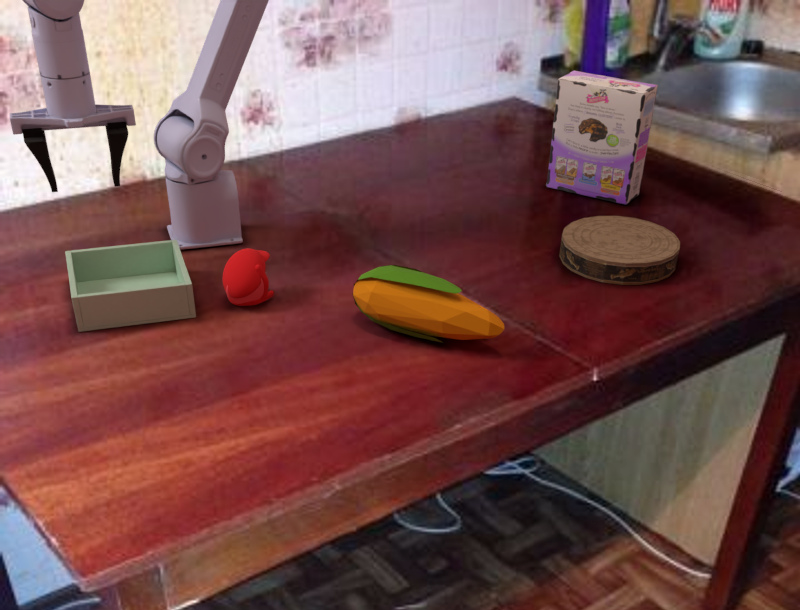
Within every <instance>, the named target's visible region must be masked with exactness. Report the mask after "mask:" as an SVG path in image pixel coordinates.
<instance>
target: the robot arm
mask: <svg viewBox="0 0 800 610" xmlns="http://www.w3.org/2000/svg"><path fill="white" fill-rule="evenodd" d="M269 1H270V0H219V2H218V6H217V8H216V11H215V13H214V15H213V19H212V21H211V24H210V27H209V29H208V32H207V35H206V37H205V39H204V42H203V45H202V48H201V50H200V53H199V55H198V58H197V60H196V63H195V66H194V69H193V71H192V75H191V77H190V79H189V82H188V85H187V87H186V89H185V91H183V92H182V93H181V94H179V96H177V97H176V98H175V99H173V100H172V103H171V104H170V107H169V110H168V111H167V113H166V114H165V115H164V116H162V118H160V120H159V121H158V122H157V123H156V126H155V128H154V130H153V143H154V147H155V149H156V151H157V153H158V154H159V155H160V156H161V157H163V158H164V163H165V164H164V165H165V166H164V178H165V185H166V186H165V187H166V193H167V200H168V208H169V213H170V214H169V216H170V221H171V223H170V224H168V225H166V229H167V232H168V235H169V238H170V239H169V240H177V242H178V245H179V248H180V251H182V250H190V249H199V248H208V247H209V248H210V247H219V246H228V245H237V244H242V243H243V242H244V241H243V240H244V239H243V236H242V235H243V234H242V224H241V223H242V222H241V213H240V212H241V211H240V201H239V192H238V185H237V179H236V175H235V173H234V171H233V170H232V169H222V168H223V166H224V164H225V160H226V141H227V138H228V136H229V133H230V127H229V124H228V117H227V115H226V111H227V110H226V109H227V107H228V105H229V102H230V100H231V97H232V94H233V92H234V90H235V87H236V84H237V82H238V79H239V78H240V74H241V72H242V69H243V67H244V64H245V62H246V59H247V56H248V54H249V52H250V49H251V47H252V44H253V41H254V39H255V37H256V34H257V31H258V29H259V26H260V24H261V21H262V18H263V16H264V14H265V11H266V8H267V6H268V3H269ZM22 2H23V3H24V4H25V5H27V12H28V18H29V22H30V28H31V37H32V41H33V46H34V51H35V57H36V61H37V67H38V71H39V76H40V82H41V86H42V91H43V97H44V102H45V106H46V107H44V108H38V109H31V110H27V111H20V112H10V113H9V122H10V126H11V130H12V135H22V136H23V142H24V144H25V146H26V147H27V148H28V150H29V151H30V153H31V154H32V155H33V156H34V158H35V160H36V161H37V162H38V165H39V166H40V167H41V169H42V171H43V173H44V175H45V177H46V179H47V182H48V184H49V187H50V189H51V192H52V193H58V192H59V190H58V185H57V183H58V182H57V178H56V174H55V171H54V168H53V165H52V161H51V158H50V152H49V147H48V142H47V137H46V136H47V135H46V132H45V131H57V130H69V129H84V128H95V127H97V128H98V127H105V132H106V138H107V142H108V143H107V144H108V149H109V156H110V169H111V177H112V182H113V186H114V187H121V177H120V176H121V168H122V167H121V166H122V160H123V155H124V151H125V148H126V144H127V142H128V138H129V130H128V127H135V126H137V123H136V115H135V109H134V106H133V104H96V101H95V94H94V89H93V83H92V77H91V71H90V65H89V59H88V52H87V48H86V41H85V36H84V31H83V27H82V21H81V15H80V12H81V11H82V9H83V7H84V4H85V0H22Z"/></svg>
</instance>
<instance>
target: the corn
mask: <svg viewBox="0 0 800 610" xmlns="http://www.w3.org/2000/svg"><path fill="white" fill-rule="evenodd" d="M462 291H463V289H462V288H460V287H459V286H457V285H456V284H454V283H453V282H450V281H449V280H447V279H444V278H441V277H439V276H435V275H432V274H430V273H426V272H423V271H421V270H419V269H417V268H413V267H408V266H404V265H398V264H389V265H381V266H378V267H375V268H373V269H370V270H369V271H366V272H364V273H362V274H360V276H359V277H358V279H357V280H356V281H355V282H354V283H353V292H352V297H353V301H354V305H355V306H356V307H357V309H359V311H360V313H362V314H363V315H364V316H365V317H367V318H368V319H369V320H370V321H371V322H373V323H376V324H378V325H380V326H382V327H384V328H387V329H388V330H390V331H394V332H397V333H400V334H405V335H408V336H411V337H415V338H418V339H424V340H428V341H431V342H438V343H443V344H444V342H443V341H442V340H440V339H438V338H445V339H453V340H459V341H468V340H470V341H471V340H485V339H495V338H496V337H498V336H500V335H501V334H503V332H504V331H505V323H504V322H503V321H502V319H501V318H500V317H499V316H498V315H496V314H495V313H494V312H492V311H491V310H489V309H487V308H486V307H484V306H482V305H481V304H479V303H477V302H475V301H473V300H471V299H470V298H468V297H467V296H465V295H463V294H460V293H461V292H462ZM437 337H438V338H437Z"/></svg>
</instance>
